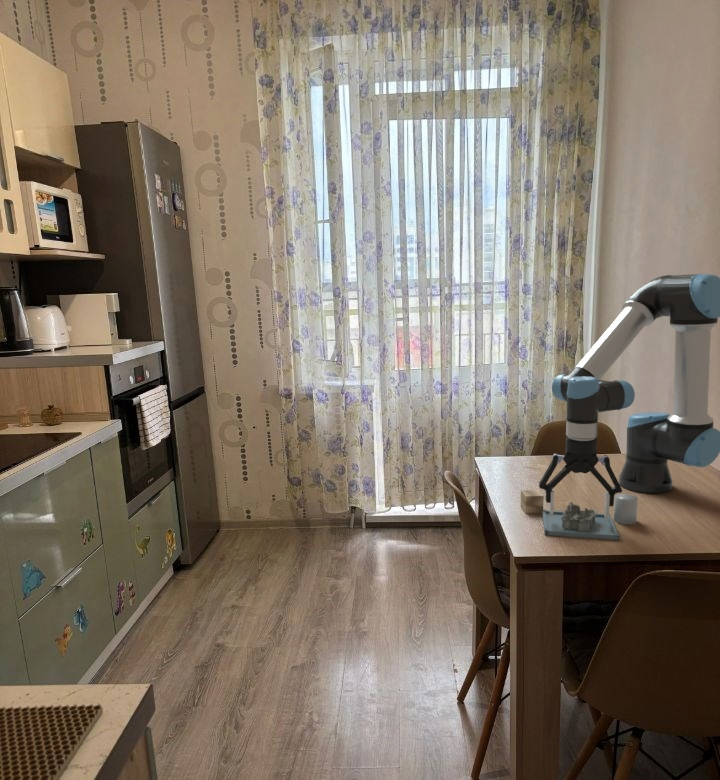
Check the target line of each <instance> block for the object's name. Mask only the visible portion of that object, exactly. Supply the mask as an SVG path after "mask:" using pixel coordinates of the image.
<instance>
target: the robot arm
mask: <svg viewBox="0 0 720 780" xmlns="http://www.w3.org/2000/svg"><path fill="white" fill-rule="evenodd" d="M662 317H669V325H670V326H671V327H672V328H673V329H674V331H675V339H674V342H675V345H674V378H673V379H674V380H673V381H674V382H673V384H674V385H673V412H672V413H670V414H669V413H668V412H656V411H655V412H641V413H639V412H638V413H633V414H631V415H629V417H628V420H627V426H626V451H625V452H626V453H625V454H626V457H625V461H624V464H623V466H622V469H621V471H620V473H619V477H618V479H617V476H616V474H615V472H614V471H613V468H612V467H611V460H610V457H609V456H608V455H607V454H604V455H603V456H598V455H597V451H598V439H596V437H598V426H599V425H598V423H599V422H598V421H599V413H603V412H610V411H612V412H613V411H620V410H622V409H627V408H629V407H630V406H632V405H633V404H634V402H635V401H634V400H635V398H636V395H635V393H636V392H635V389H634V387H633V385H632V384H631V383H629V382H628V381H626V380H617V379H616V380H612V381H610V380H609V381H608V380H603V379H602V378H603V377H604V376H605V374H606V373H607V372H608V371H609V369H610V368H611V367H612V366H613V365H614V364H615V363H616V361H617V360H618V359H619V358H620V356H621V355H622V354H623V353H624V352H625V351H626V349H627V348H628V347H629V346H630V344H631V343H632V342H633V341H634V339H635V338H636V337H638V334H640V333H641V331H642V330H643V329H644V328H645V327H648V326H650V325H652V324H653V322H655V320H656V319H659V318H662ZM718 318H720V277H719V276H718V275H715V274H706V273H695V274H694V273H693V274H676V275H674V274H673V275H672V274H670V275H669V274H667V275H661V276H658V277H655V278H653V279H651V280H650V281H648V282H647V283H645V284H643V285H642V286H640V287H639V288H638V289H637V290H636V291H635V292H633V293H632V294H631V295H630V296H629V297H628V298H627V299H626V301H625V302H624V303H623V304H622V306H621V312H620V313H619V315H618V316H617V317H616V318H615V319H614V320H613V322H612V323H611V324H610V325H609V326H608V327H607V329H606V330H605V331H604V332H603V333H602V335H601V336H600V337H599V338H598V339H597V340H596V341H595V343H594V344H593V345H592V346H591V347H590V349H589V350H588V351H587V352H586V353H585V354H584V356H582V358H581V359H580V360H579V361H578V363H577V364H576V365H575V366H574V368H573V369H571V371H570V372H569V374H567V373H563V374H562V373H561V374H559V375H557V376H555V378H554V379H553V381H552V384H551V393H552V394H553V396H554V398H556V399H557V400H559V401H562V402H565V403H566V427H565V429H566V431H565V435H566V438H565V450H564V452H565V453H564V454H563V455H561V454H558V453H556V452H554V453H553V454H552V458H551V462H550V463H549V465H548V467H547V469H546V471H545V472H544V473H543V476H541V478H540V480H539V483H538V487H539V489H540V490H544V491H545V502H546V503H549V511H550V516H553V511H555V510H554V508H555V503H554V502H555V501H554V499H555V491H554V488H555V487H556V486H557V485H558V484H560V482H561V481H562V480H563V479H564V478H565V477H566V476H567V475H569V474H570V473H571V472H573V473H574V474H579V473H582V474H587V473H591V474H592V475H593V476H594V477H595V478H596V480H597V481H598V482H599V483H600V485H602V486H603V488H604V489H605V490H606V491H604V505H603V507H604V509H603V510H604V511H603V514H604V517H605V519H609V514H610V507H614V501H615V495H617V494H622V493H623V490H622V488H624V489H627V490H630V491H634V492H638V493H645V494H661V493H662V494H663V493H664V494H665V493H667V492H670V491H672V490H673V483H674V482H673V478H672V475H671V472H670V468H669V465H668V461H673V462H676V463H679V464H683V465H685V466H690V467H695V468H705V467H707V466H710V465H712V463H713V462H714V461H715V460H716V459H717V458H718V456H719V455H720V430H719V429H717V428H714V418H713V417H712V416H711V415H709V410H708V408H709V390H710V389H709V386H710V385H709V383H710V382H709V381H710V363H711V362H710V358H711V357H710V356H711V333H712V329H713V328H714V327H715V326H717V324H718ZM562 461H563V462H564V463H565V465H564V466H563V467H562V469H561V470H560V471H559V472H558V473H557V474H556V475H555V476H554V477H553V478H552V479H551V480H550V478H551V476H552V475H553V473H554V472H555V470H556V468H557V465H558V464H561V462H562ZM598 462H600V464H601V466H604V468H605V470H606V472H607V473H608V476H609V477H610V479H611V482H612V484H613V487H612V485H610V484H609V482H608V481H607V480H606V478H604V476H603V475H602V474H601V473H600V472H599V470H597V468H596V467H595V466H596V465H597V464H598ZM549 480H550V481H549Z"/></svg>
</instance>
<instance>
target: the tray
mask: <svg viewBox="0 0 720 780" xmlns="http://www.w3.org/2000/svg"><path fill="white" fill-rule="evenodd" d="M564 512H565V510H564V511H562V510H554V511H553V516H550V509H549V510H547V509H543V510H542V513H541V515H542V524H543V533H544V536H554V537H567V538H581V539H582V538H584V539H595V540H597V539H599V540H611V541H619V540H620V535H619V532H618V530H617V528H616V525H615V523H614V522H615V521H614V519H613V518H612V515H611V514H610V513H609V519H605V517H604V513H596V514H595V522H592V526H591V527H590V526H589V531H579V530H577V529H567V528H565V527H562V523H563V521H562V519H561V518H562V514H563V513H564Z"/></svg>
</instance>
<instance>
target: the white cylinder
mask: <svg viewBox="0 0 720 780" xmlns="http://www.w3.org/2000/svg"><path fill="white" fill-rule="evenodd" d="M638 502H639V501H638V497H637V496H636V495H632V494H629V493H628V494H627V493H616V494H615V495H614V505H613V522H615V523H618V524H620V525H621V524H622V525H627V526H628V525H629V526H630V525H635V524H637V518H638V516H637V515H638Z"/></svg>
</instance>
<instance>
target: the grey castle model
mask: <svg viewBox="0 0 720 780" xmlns="http://www.w3.org/2000/svg"><path fill="white" fill-rule="evenodd" d="M564 511H565V512H564V513H563V514H562V518H561V519H562V521H563V523H562V527H565V528H567V529H577V530H579V531H589V526H590V527H591V526H592V522H595V514H596V513H597V512H598V509H595V510H594V509H592V508H591V509H588V508H587V507H585V508H584V509H581V508H580V506H579V505H578V504H574V503H573V501H570V502H569V503H568V504H567V508H566V509H565V510H564Z"/></svg>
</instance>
